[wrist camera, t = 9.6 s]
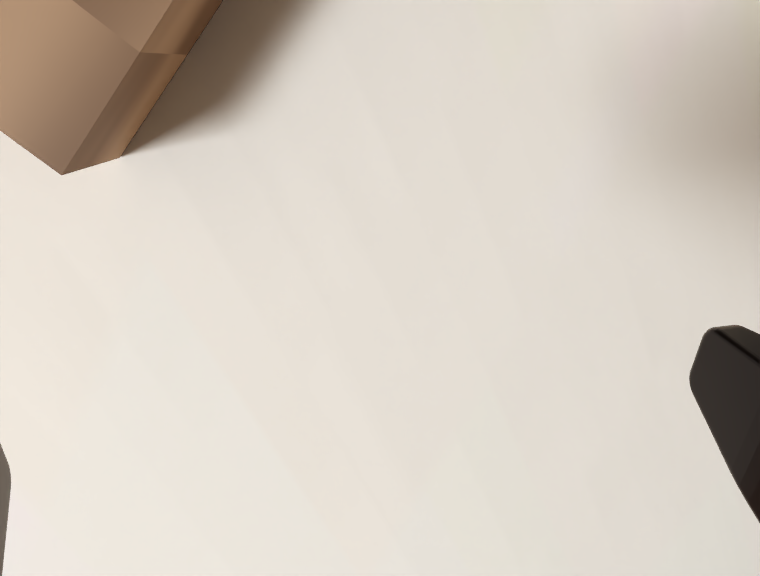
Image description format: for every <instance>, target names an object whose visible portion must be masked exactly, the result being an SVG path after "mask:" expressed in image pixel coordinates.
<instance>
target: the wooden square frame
mask: <svg viewBox="0 0 760 576" xmlns="http://www.w3.org/2000/svg"><path fill="white" fill-rule="evenodd" d="M222 1H223V0H0V131H2V132H3V133H4V134H6V135H7V136H8V137H10V138H11V139H13V140H14V141H15V142H17V143H18V144H19V145H21V146H22V147H23V148H25V149H26V150H28V151H29V152H30V153H32V154H33V155H34V156H36V157H37V158H39V159H40V160H41V161H43V162H44V163H45V164H47V165H48V166H49V167H51V168H52V169H54V170H55V171H56V172H58V173H59V174H60V175H64V174H67V173H71V172H74V171H77V170H81V169H84V168H87V167H90V166H94V165H97V164H100V163H104V162H107V161H110V160H114V159H117V158H120V156H121V155H122V153H123V152H124V150H125V149H126V147H127V146H128V144H129V143H130V141H131V140H132V138H133V137H134V135H135V133H136V132H137V130H138V129H139V127H140V126H141V124H142V123H143V121H144V120H145V118H146V117H147V115H148V114H149V112H150V111H151V109H152V108H153V106H154V105H155V103H156V102H157V100H158V98H159V97H160V95H161V94H162V92H163V91H164V89H165V88H166V86H167V85H168V83H169V82H170V80H171V79H172V77H173V76H174V74H175V73H176V71H177V70H178V68H179V67H180V65H181V64H182V62H183V60H184V59H185V57H186V56H187V54H188V53H189V51H190V50H191V48H192V47H193V45H194V44H195V42H196V41H197V39H198V38H199V36H200V35H201V33H202V32H203V30H204V29H205V27H206V25H207V24H208V22H209V21H210V19H211V18H212V16H213V15H214V13H215V12H216V10H217V9H218V7H219V6H220V4H221V3H222Z"/></svg>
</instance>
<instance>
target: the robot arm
mask: <svg viewBox="0 0 760 576" xmlns="http://www.w3.org/2000/svg"><path fill="white" fill-rule="evenodd" d="M689 380H690V387H691V390H692V393H693V395H694V397H695V399H696V401H697V403H698V405H699V407H700V410H701V412H702V414H703V416H704V418H705V420H706V422H707V424H708V426H709V428H710V430H711V432H712V435H713V437H714V439H715V441H716V443H717V445H718V447H719V449H720V451H721V453H722V455H723V457H724V459H725V462H726V464H727V466H728V468H729V470H730V472H731V474H732V476H733V478H734V480H735V482H736V484H737V485H738V487H739V489H740V491H741V493H742V494H743V496H744V498H745V499H746V501H747V503H748V505H749V506H750V508H751V510H752V511H753V513H754V514H755V516H756V518H757V519H758V521H759V523H760V334H758V333H756V332H753V331H751V330H749V329H747V328H745V327H742V326H739V325H729V326H721V327H713V328H711V329H708V330H707V332H706V333H705V334H704V335H703V337H702V340H701V343H700V346H699V349H698V351H697V354H696V357H695V360H694V363H693V365H692V368H691V371H690V378H689ZM10 490H11V474H10V468H9V465H8V462H7V459H6V457H5V454H4V452H3V449H2V447H1V444H0V576H2V570H3V560H4V550H5V540H6V530H7V520H8V510H9V500H10Z"/></svg>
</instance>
